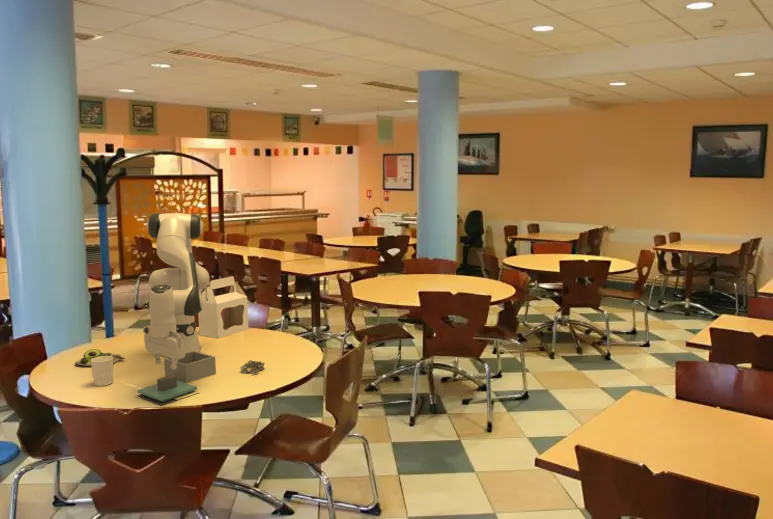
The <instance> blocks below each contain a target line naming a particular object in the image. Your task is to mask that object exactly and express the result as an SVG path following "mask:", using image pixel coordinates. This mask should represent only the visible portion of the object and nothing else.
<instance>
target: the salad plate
mask: <svg viewBox="0 0 773 519" xmlns="http://www.w3.org/2000/svg"><path fill="white" fill-rule="evenodd" d="M82 356H83V357H82V358H79V359H78V360H76V361H75V362H74V365H76V366H77V365H78V366H77V367H79V366H91V359H93V358H96V357H100V356H111V357H113V363H114V364H116V363H118V362H119V361H122V360H125V359H126V358H125V357H123V356H122V355H121V354H117V353H115V354H114V353H111V352H102V351H101V350H100V349H97V348H92V349H88V350H87V351H85V352H84V353H83V355H82ZM117 361H118V362H117ZM115 362H116V363H115Z"/></svg>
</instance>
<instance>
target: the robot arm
mask: <svg viewBox="0 0 773 519" xmlns="http://www.w3.org/2000/svg"><path fill="white" fill-rule="evenodd" d="M146 229H147V232H148V235H149V236H150V237H151V238H152V239H156V254H157V256H158V258H159V259H160V260H161V261H162V262H164V263H165V264H167V265H169V266H172V267H168V268H161V269H156V270H154V271H152V273H151V274H150V275H149V279H148V283H149V284H148V285H149V288H150V291H149V299H148V311H149V314H150V321H149V323H150V325H146V326H144V327H143V328H142V332H143V333H144V334H143V340H144V341H143V343H144V348H145V350H146V352H150V353H152V357H153V359H154V364H155V365H162V358H160V356H163V357H165V358H171V361H172V364H170V369H173V370H174V369H176V368H177V362H178V359H182V358H184V357H185V353H188V352H192V351H196V352H200V351H201V349H202V348H203V347H202V345H200V339H199V332H198V330H196V329H197V323H196V322H197V321H196V320H195V316H197V315H198V313H199V312H200V311H201V310H202V307H203V300H202V293H201V290H205V289H206V288H207V287H208V286H209V285H208V284H209V282H210V274H209V272H208V270H207V269H206V268H204V267H203V266H201V265H200V264H198V263H197V261H196V259H195V256H194V254H193V245H192V240H194V239H196V240H197V239H199V238H200V237H201V236H202V234H203V231H204V223H203V220H202V217H201V216H200V215H198V214H194V213H191V214H190V213H183V212H172V213H171V212H170V213H169V212H167V213H154V214H153V213H152V214H151V215H150V216H149V218H148V220H147V223H146Z"/></svg>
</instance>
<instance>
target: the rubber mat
mask: <svg viewBox="0 0 773 519" xmlns="http://www.w3.org/2000/svg"><path fill="white" fill-rule="evenodd" d="M198 394H200V392H197V393H194V394H191V395H187V396H185V397H181V398H179V399H177V398H175V397H173V399H170V400H167V401H164V402H162V401H159V400H157V399H154V398H151V397H148V396H145V395H143V394H141V393H139V394H137V395H136V396H138V397H140V398H142V399H141V400H143V399H144V401H147V402H149V403H151V402H152V404H154V405H158V406H160V407H162V406H166V405H168V404H172V403H175V402H177V401H182V400H184V399H187V398H190V397H192V396H193V397H194V396H195V395H198ZM138 397H137V398H138ZM140 398H139V399H140Z"/></svg>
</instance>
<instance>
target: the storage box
mask: <svg viewBox="0 0 773 519" xmlns="http://www.w3.org/2000/svg"><path fill="white" fill-rule="evenodd" d="M163 360H164V361H163V362H164V365H163V366H164V377H166V376H170V375H173V376H176V380H177V381H180V382H184V383H187V384H190V383H191V382H195V381H198V380H201V379H204V378H208V377H210V376H214V375H216V374H217V369H216V368H217V367H216V366H217V364H216V356H215V355H210V354H207V353H203V352H200V351H199V352H196V351H192V352H188V353H185V357H184V358H182V359H178V362H177V368H176V369H174V370H173V369H170V364H172V361H171V358H169V357H165V358H164V359H163Z"/></svg>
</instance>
